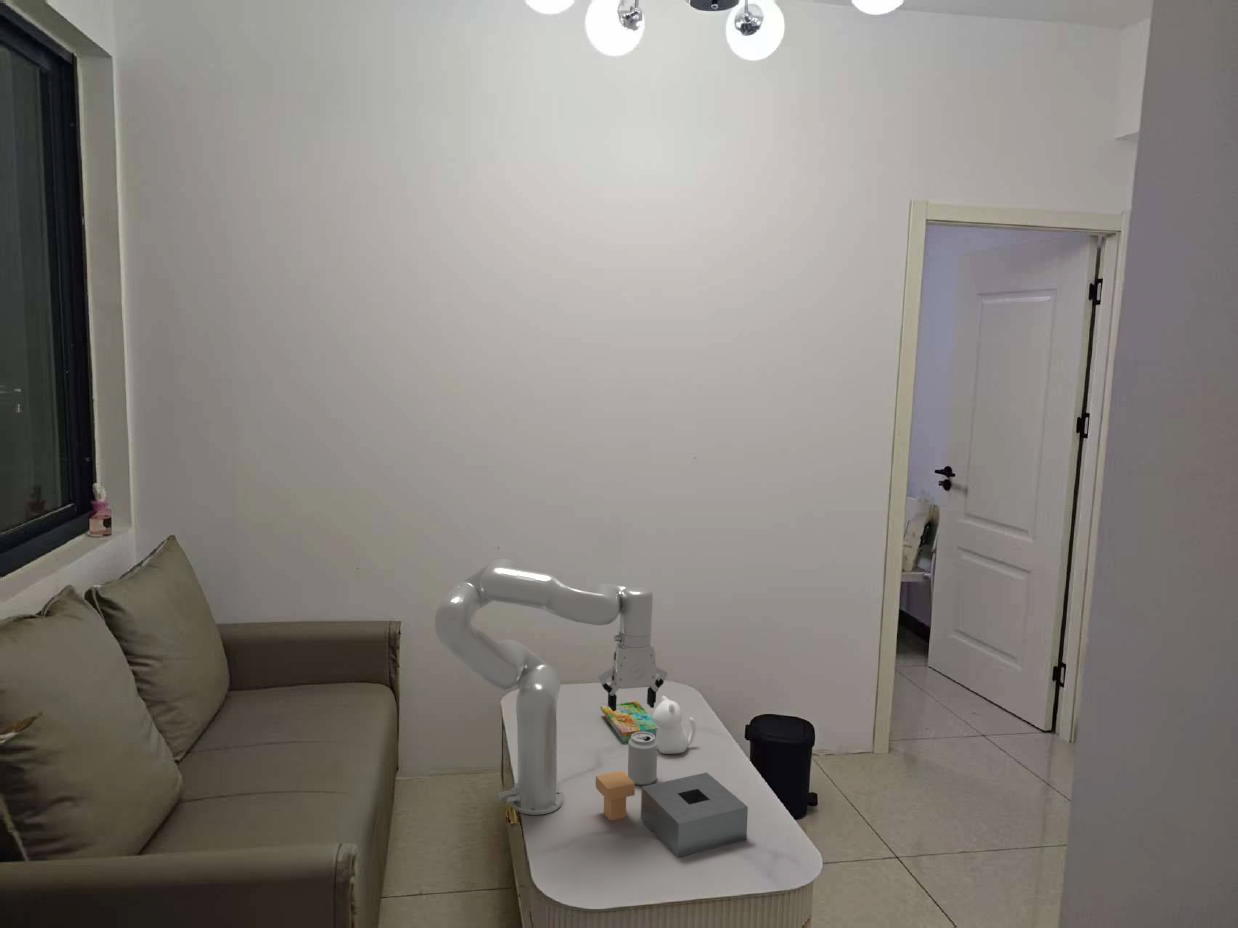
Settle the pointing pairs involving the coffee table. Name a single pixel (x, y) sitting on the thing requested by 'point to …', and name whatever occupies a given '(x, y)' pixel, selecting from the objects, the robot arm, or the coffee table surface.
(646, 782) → the can
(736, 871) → the coffee table surface
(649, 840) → the coffee table surface
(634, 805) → the coffee table surface
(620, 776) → the tan cardboard box
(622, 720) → the puzzle game
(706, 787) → the grey square socket block
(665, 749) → the cat figurine
